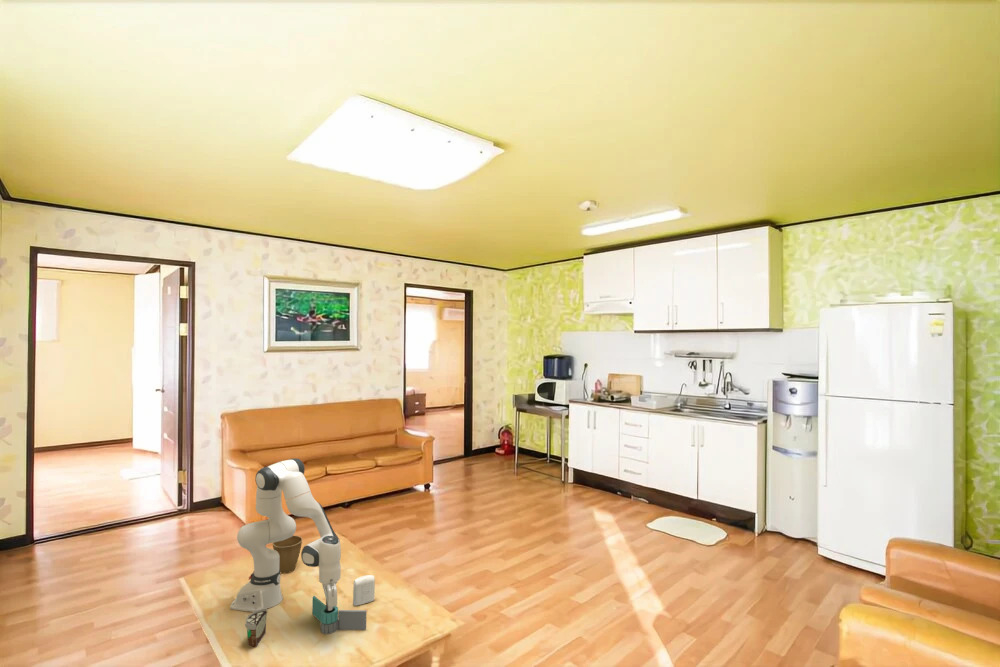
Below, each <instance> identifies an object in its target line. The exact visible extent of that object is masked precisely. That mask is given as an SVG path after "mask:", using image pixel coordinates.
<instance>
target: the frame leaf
mask: <svg viewBox="0 0 1000 667" xmlns="http://www.w3.org/2000/svg"><path fill="white" fill-rule="evenodd" d="M366 630H367V610H366V609H365V610H364V609H353V610H351V609H338V620H337V621H336V622H334V623H331V624H323V623H322V622H320V633H321V634H323V635H331V634H333V633H336V631H366Z"/></svg>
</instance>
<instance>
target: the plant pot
mask: <svg viewBox="0 0 1000 667" xmlns="http://www.w3.org/2000/svg"><path fill="white" fill-rule="evenodd" d="M302 544H303V537H301V536H299V535H293V536H292V537H290V538H288V539H286V540H283V541H279V542H274V543H272V549H273V550H276V551H277V552H278V553H279V556H280V565H279V568H280V574H288V573H291V572H293V571H294V570H295V568H296V566H297V563H298V560H299V557H300V555H301V553H300V552H301V551H302Z"/></svg>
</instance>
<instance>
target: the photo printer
mask: <svg viewBox="0 0 1000 667" xmlns="http://www.w3.org/2000/svg"><path fill="white" fill-rule="evenodd" d="M375 580H376V579H375V575H373V574H367V575H361V576H359V577H357V578H355V579H354V581H353V591H352V593H353V596H352V597H353V598H352V605H353V606H354V607H356V606H360V605H364V604H367V603H372V602H373V601H375V584H376V581H375Z"/></svg>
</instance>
